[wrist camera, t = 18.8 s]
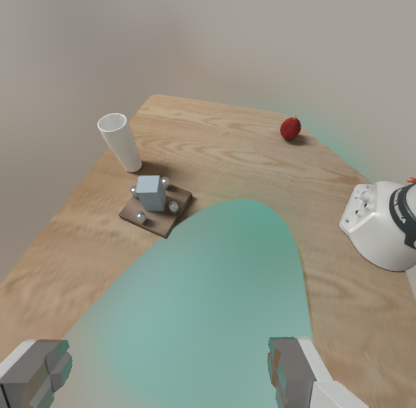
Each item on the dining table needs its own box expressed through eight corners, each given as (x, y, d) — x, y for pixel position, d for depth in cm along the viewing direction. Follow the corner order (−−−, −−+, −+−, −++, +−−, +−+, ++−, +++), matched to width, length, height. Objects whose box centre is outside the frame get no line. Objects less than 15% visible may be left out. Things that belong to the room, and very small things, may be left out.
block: (148, 195, 51) (139, 175, 44) (166, 195, 51) (159, 175, 44) (145, 211, 49) (135, 192, 42) (164, 211, 49) (156, 192, 42)
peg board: (150, 180, 56) (145, 168, 52) (191, 196, 53) (190, 185, 49) (121, 218, 50) (113, 208, 46) (166, 239, 47) (162, 230, 43)
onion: (299, 140, 64) (310, 118, 57) (285, 147, 62) (294, 125, 55) (287, 130, 66) (296, 107, 59) (273, 136, 65) (281, 113, 58)
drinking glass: (146, 157, 61) (129, 112, 48) (143, 174, 57) (124, 131, 44) (123, 158, 60) (100, 113, 48) (119, 175, 57) (93, 132, 44)
